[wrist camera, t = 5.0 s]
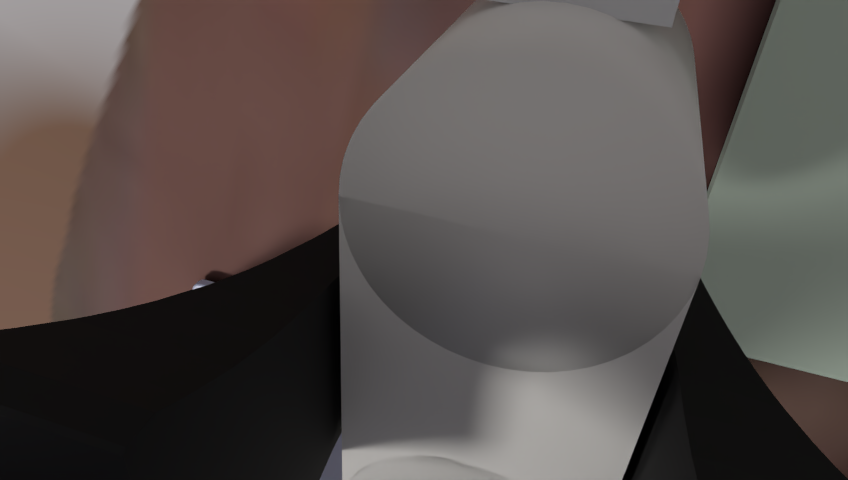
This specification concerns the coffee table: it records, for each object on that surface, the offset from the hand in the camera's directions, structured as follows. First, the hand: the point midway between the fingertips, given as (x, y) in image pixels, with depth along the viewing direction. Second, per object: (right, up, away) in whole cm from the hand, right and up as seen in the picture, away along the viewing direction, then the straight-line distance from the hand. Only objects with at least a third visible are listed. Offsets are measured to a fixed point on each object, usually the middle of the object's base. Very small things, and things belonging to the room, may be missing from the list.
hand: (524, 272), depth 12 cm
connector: (+1, +2, 0) cm, 2 cm away
